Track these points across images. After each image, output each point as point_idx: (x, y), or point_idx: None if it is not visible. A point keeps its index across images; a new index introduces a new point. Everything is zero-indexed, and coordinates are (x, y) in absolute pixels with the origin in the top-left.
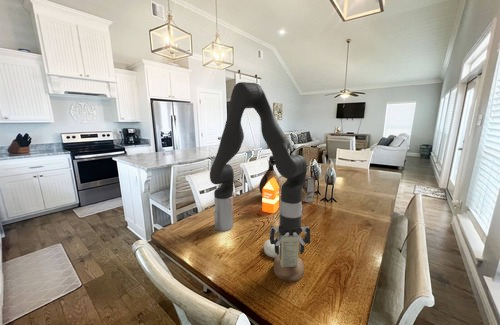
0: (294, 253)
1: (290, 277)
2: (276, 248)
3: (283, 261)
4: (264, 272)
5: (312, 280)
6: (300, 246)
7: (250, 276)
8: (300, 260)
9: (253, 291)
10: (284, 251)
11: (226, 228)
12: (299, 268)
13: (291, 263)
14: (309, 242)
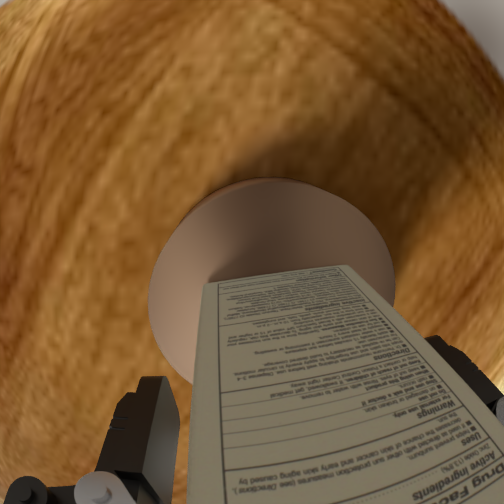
0: (248, 365)
1: (278, 179)
2: (474, 380)
3: (356, 288)
4: (422, 254)
5: (110, 204)
6: (153, 461)
7: (484, 218)
8: (173, 352)
9: (476, 114)
10: (405, 361)
11: None
12: (190, 262)
13: (267, 289)
14: (16, 488)
